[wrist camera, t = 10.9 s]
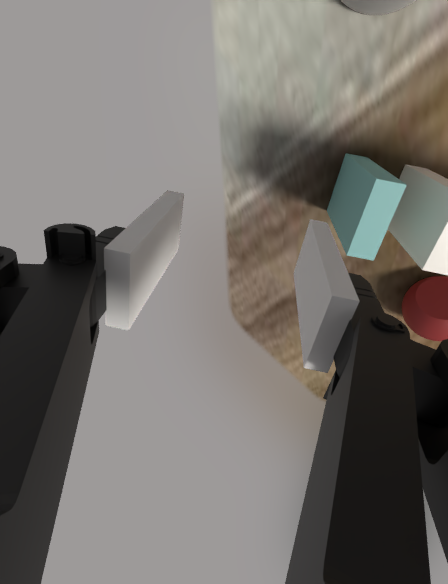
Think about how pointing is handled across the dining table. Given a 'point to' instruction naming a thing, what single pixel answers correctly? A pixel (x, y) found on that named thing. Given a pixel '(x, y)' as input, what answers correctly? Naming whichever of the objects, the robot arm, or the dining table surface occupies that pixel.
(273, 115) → the dining table surface
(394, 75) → the dining table surface
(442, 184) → the domino
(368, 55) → the dining table surface
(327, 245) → the robot arm
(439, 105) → the dining table surface
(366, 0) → the mug
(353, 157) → the domino
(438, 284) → the fruit
